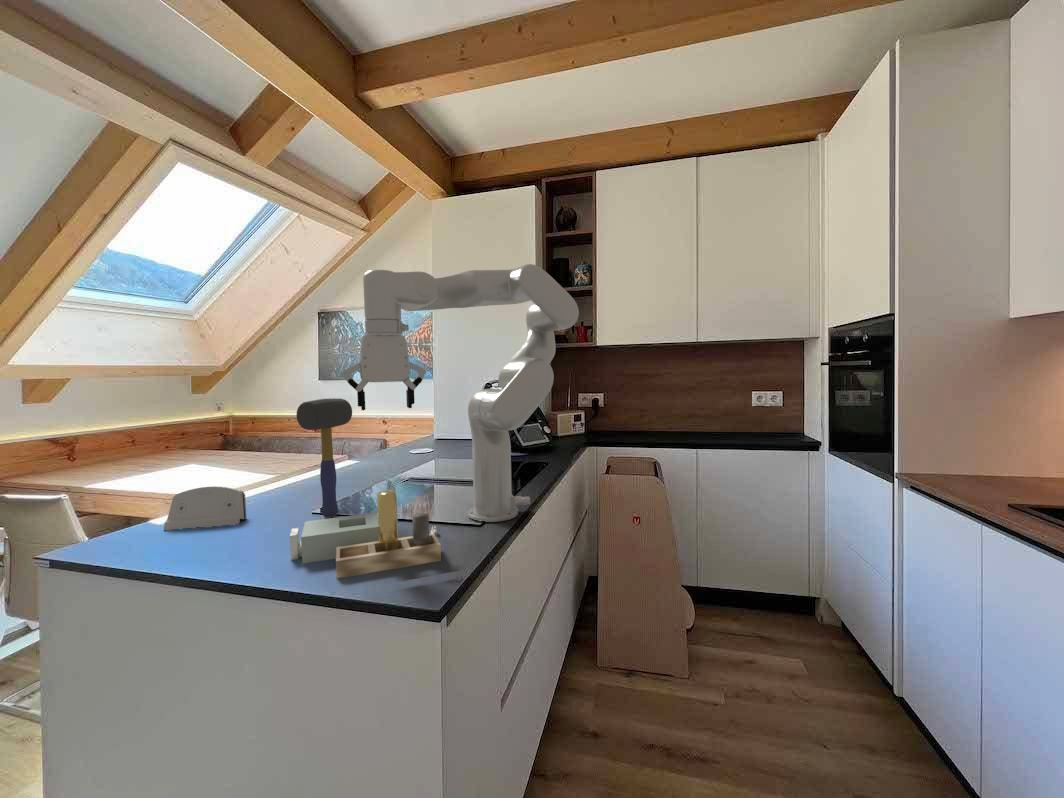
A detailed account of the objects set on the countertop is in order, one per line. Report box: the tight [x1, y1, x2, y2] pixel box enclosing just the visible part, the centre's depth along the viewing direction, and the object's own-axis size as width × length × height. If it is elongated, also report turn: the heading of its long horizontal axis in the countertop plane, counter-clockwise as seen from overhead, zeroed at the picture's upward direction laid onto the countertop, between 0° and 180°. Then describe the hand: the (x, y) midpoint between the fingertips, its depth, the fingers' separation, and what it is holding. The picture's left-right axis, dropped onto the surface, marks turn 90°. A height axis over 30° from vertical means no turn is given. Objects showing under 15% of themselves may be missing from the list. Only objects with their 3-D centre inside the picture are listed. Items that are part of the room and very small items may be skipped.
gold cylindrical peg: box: [376, 489, 399, 552], centre depth 87 cm, size 3×3×13 cm
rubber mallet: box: [296, 398, 353, 519], centre depth 118 cm, size 12×8×30 cm, turn 159°
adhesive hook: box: [430, 525, 438, 537], centre depth 102 cm, size 3×3×3 cm
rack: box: [335, 512, 442, 579], centre depth 87 cm, size 18×7×9 cm, turn 112°
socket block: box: [300, 512, 379, 565], centre depth 95 cm, size 14×10×6 cm
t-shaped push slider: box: [289, 527, 302, 561], centre depth 93 cm, size 8×4×5 cm, turn 112°
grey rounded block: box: [163, 486, 248, 531], centre depth 116 cm, size 17×5×10 cm, turn 102°
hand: (386, 408), depth 102 cm, fingers open, 9 cm apart
